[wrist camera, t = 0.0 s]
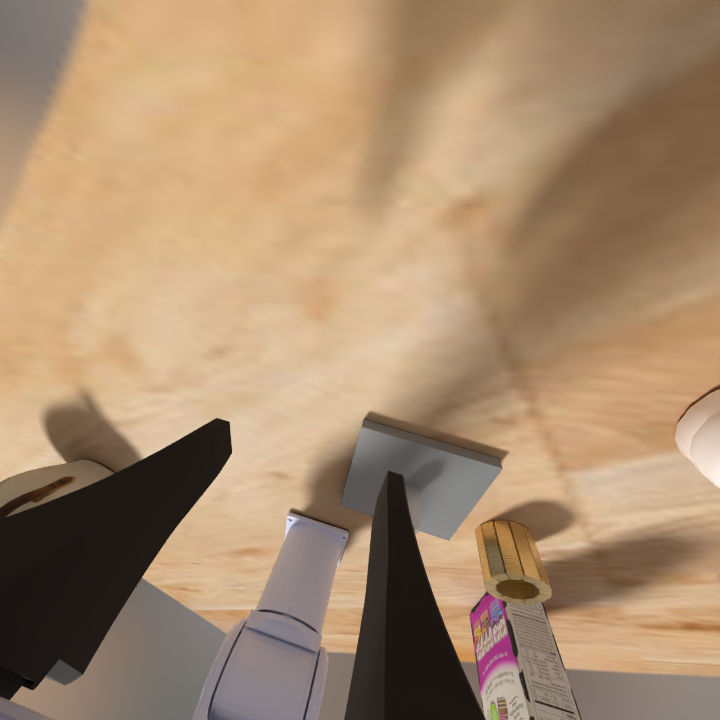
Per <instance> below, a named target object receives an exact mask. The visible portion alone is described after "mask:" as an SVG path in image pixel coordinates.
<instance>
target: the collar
mask: <svg viewBox="0 0 720 720" xmlns="http://www.w3.org/2000/svg"><path fill="white" fill-rule="evenodd" d="M475 534H476V539H477V545H478V551H479V556H480V562H481V567H482V573H483V578H484V584H485V588H486V591H487V592H488V593H489V594H491V595H492V596H493V597H495V598H497V599H499V600H502V601H505V602H508V603H511V602H512V603H513V604H524V605H527V604H528V605H530V604H537V603H542V602H544V601H546V600H547V599H549V598H550V597H551V596H552V591H551V586H550V584H549V581H548V578H547V575H546V572H545V570H544V567H543V564H542V561H541V558H540V556H539V553H538V550H537V547H536V545H535V542H534V539H533V536H532V533H531V532H530V531H529V530H528V529H527V528H526V527H524V526H523V525H521V524H518V523H515V522H512V521H507V520H494V522H493V521H490V522H487V523H484V524H481V525H480V526H479V527H478V528H477V530H476V531H475Z"/></svg>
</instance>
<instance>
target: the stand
mask: <svg viewBox="0 0 720 720" xmlns="http://www.w3.org/2000/svg"><path fill="white" fill-rule="evenodd" d="M502 469H503V468H502V465H501V462H500V459H498V458H495V457H492V456H488V455H485V454H481V453H478V452H475V451H471V450H468V449H464V448H461V447H457V446H454V445H451V444H447V443H444V442H440V441H437V440H434V439H430V438H427V437H423V436H420V435H416V434H413V433H410V432H406V431H403V430H399V429H396V428H392V427H389V426H386V425H382V424H379V423H375V422H372V421H369V420H365V419H364V420H363V423H362V427H361V431H360V434H359V438H358V442H357V445H356V449H355V453H354V456H353V460H352V463H351V467H350V471H349V474H348V478H347V482H346V485H345V489H344V493H343V496H342V500H341V504H340V506H343V507H346V508H349V509H353V510H356V511H359V512H362V513H365V514H368V515H371V516H374V511H375V506H376V501H377V497H378V495H379V492H380V490H381V487H382V484H383V482H384V479H385V477H386V474H387V472H388V471H391V472H395V473H398V474H401V475H403V477H404V483H405V490H406V496H407V501H408V506H409V511H410V516H411V520H412V524H413V528H414V532H415V533H417V532H419V531H421V532H424V533H427V534H430V535H434V536H437V537H440V538H443V539H446V540H450V538H451V537H452V536H453V534H454V533H455V532H456V530H457V529H458V528H459V526H460V525H461V524H462V522H463V521H464V520H465V518H466V517H467V516H468V514H469V513H470V512H471V510H472V509H473V508H474V506H475V505H476V504H477V502H478V501H479V500H480V498H481V497H482V496H483V494H484V493H485V492H486V490H487V489H488V487H489V486H490V485H491V483H492V482H493V481H494V479H495V478H496V477H497V475H498V474H499V473H500V471H501V470H502Z"/></svg>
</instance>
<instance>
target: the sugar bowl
mask: <svg viewBox="0 0 720 720" xmlns="http://www.w3.org/2000/svg"><path fill="white" fill-rule="evenodd" d="M113 474H115V473H113V472H112V471H110V470H109V469H107V468H105V467H104V466H102V465H100V464H98V463H96V462H93V461H90V460H79V461H75V462H71V463H66V464H60V465H54V466H48V467H43V468H39V469H35V470H30V471H27V472H24V473H20V474H17V475H15V476H12V477H10V478H7V479H5V480H3V481H1V482H0V519H2V518H5V517H8V516H11V515H13V514H16V513H19V512H22V511H25V510H27V509H30V508H33V507H36V506H38V505H41V504H44V503H46V502H49V501H51V500H54V499H56V498H59V497H61V496H64V495H66V494H69V493H71V492H74V491H76V490H79V489H81V488H83V487H86V486H88V485H90V484H93V483H95V482H97V481H99V480H102V479H104V478H106V477H108V476H110V475H113Z"/></svg>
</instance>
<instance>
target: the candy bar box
mask: <svg viewBox="0 0 720 720" xmlns="http://www.w3.org/2000/svg"><path fill="white" fill-rule="evenodd" d="M470 620H471V628H472V635H473V642H474V650H475V656H476V663H477V670H478V677H479V684H480V692H481V699H482V706H483V713H484V716H485V719H486V720H581V716H580V713H579V710H578V707H577V704H576V701H575V698H574V695H573V692H572V688H571V685H570V683H569V680H568V677H567V674H566V672H565V668H564V665H563V662H562V659H561V656H560V653H559V650H558V647H557V644H556V641H555V638H554V635H553V632H552V629H551V626H550V623H549V620H548V617H547V614H546V611H545V608H544V605H543V602H542V603H537V604H530V605H528V604H527V605H524V604H513V603H512V602H511V603H508V602H505V601H502V600H499V599H497V598H495V597H493V596H492V595H491V594H489V593H488V592H487V593H486V594H485V595H484V597H483V598H482V599H481V600H480V602H479V603H478V604H477V606H476V607H475V608H474V610H473V611H472V612H471V613H470Z"/></svg>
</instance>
